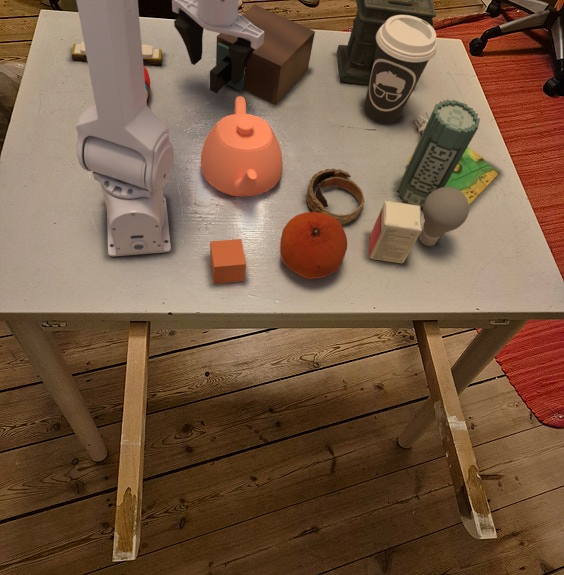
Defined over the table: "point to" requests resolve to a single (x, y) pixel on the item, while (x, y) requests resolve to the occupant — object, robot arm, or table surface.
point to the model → (374, 34)
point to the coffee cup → (398, 65)
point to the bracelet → (333, 179)
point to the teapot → (241, 154)
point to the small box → (395, 232)
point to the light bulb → (443, 213)
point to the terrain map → (471, 175)
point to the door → (223, 71)
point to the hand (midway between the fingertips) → (216, 71)
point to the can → (438, 150)
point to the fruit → (313, 244)
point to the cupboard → (274, 54)
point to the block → (227, 261)
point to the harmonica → (147, 52)
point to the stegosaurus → (422, 123)
